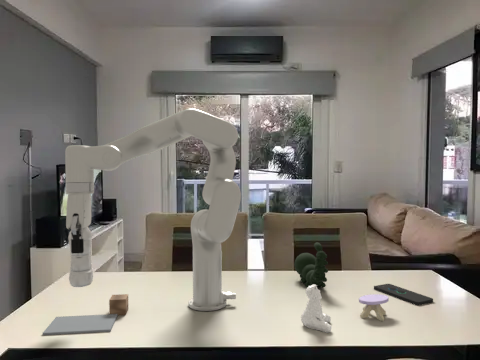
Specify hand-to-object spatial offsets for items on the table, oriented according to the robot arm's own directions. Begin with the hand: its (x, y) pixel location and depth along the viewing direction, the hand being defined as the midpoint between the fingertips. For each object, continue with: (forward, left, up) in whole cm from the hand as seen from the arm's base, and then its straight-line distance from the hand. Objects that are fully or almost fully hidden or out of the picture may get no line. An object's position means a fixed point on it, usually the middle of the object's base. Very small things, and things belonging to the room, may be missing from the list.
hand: (80, 249), depth 118 cm
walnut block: (-9, -9, -22) cm, 26 cm away
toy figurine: (-78, -30, -22) cm, 87 cm away
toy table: (-87, +5, -22) cm, 90 cm away
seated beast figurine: (-67, +10, -22) cm, 71 cm away
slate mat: (0, 0, -22) cm, 22 cm away
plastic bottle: (0, 0, -11) cm, 11 cm away
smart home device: (-106, -13, -23) cm, 109 cm away
